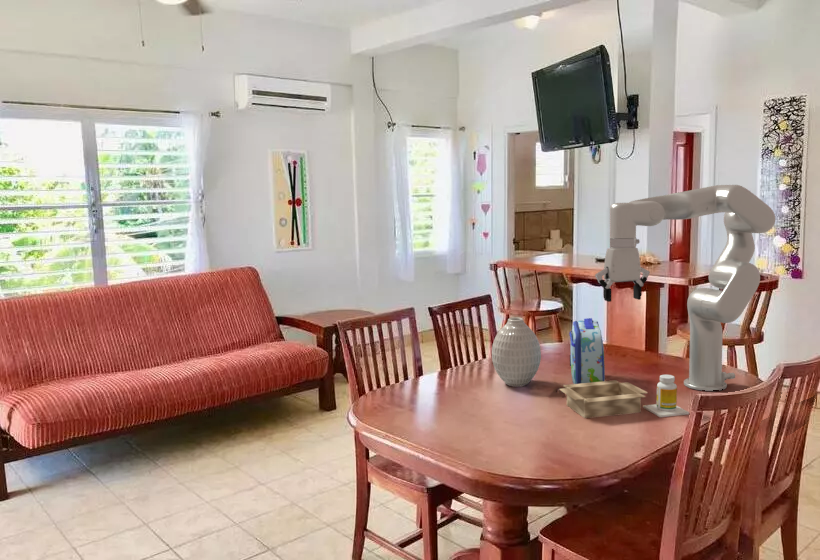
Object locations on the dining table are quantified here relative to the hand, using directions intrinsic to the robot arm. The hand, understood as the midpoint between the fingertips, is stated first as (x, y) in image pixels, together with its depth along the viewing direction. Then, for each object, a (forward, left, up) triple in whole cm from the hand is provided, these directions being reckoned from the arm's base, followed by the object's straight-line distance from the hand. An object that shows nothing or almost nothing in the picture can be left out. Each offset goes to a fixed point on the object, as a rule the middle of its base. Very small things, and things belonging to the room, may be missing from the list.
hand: (622, 300), depth 204 cm
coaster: (-5, +16, -30) cm, 35 cm away
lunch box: (+4, -16, -31) cm, 35 cm away
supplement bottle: (-5, +16, -30) cm, 34 cm away
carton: (+11, +9, -30) cm, 33 cm away
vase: (+26, -23, -31) cm, 46 cm away
